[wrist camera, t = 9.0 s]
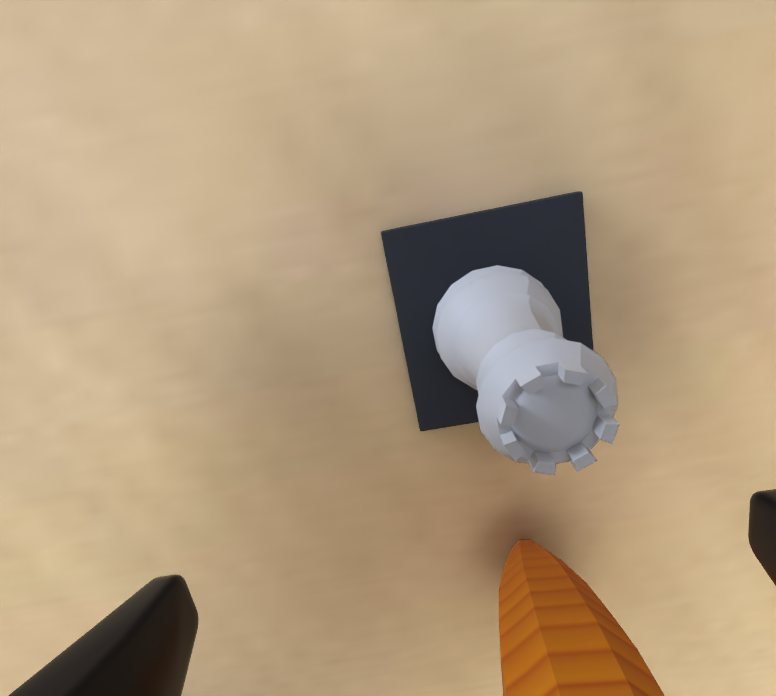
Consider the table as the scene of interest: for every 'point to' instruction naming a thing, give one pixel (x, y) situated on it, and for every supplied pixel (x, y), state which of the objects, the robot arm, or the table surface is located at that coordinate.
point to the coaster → (472, 252)
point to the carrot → (562, 634)
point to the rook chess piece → (525, 370)
